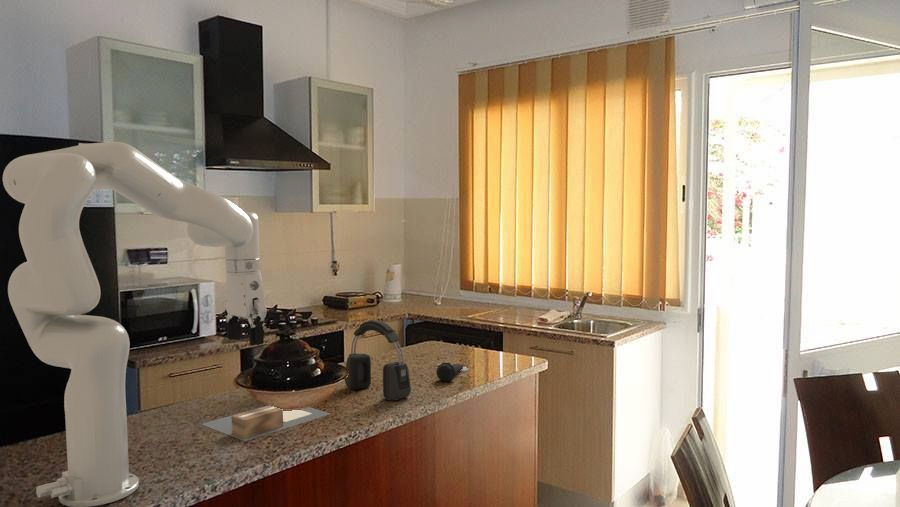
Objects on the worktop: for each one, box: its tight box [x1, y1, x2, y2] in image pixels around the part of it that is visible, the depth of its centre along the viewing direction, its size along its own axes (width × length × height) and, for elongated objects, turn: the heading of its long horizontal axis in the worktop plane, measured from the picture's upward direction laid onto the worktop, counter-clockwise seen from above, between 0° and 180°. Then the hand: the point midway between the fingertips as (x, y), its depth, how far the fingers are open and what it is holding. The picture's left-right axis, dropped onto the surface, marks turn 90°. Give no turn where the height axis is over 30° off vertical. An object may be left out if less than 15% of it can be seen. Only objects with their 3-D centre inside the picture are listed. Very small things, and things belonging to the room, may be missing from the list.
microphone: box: [435, 362, 464, 383], centre depth 197 cm, size 6×6×20 cm
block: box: [231, 404, 283, 438], centre depth 146 cm, size 10×5×4 cm, turn 140°
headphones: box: [344, 319, 412, 401], centre depth 177 cm, size 22×6×20 cm, turn 47°
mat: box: [200, 405, 332, 442], centre depth 154 cm, size 24×18×1 cm
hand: (245, 341), depth 148 cm, fingers open, 9 cm apart
